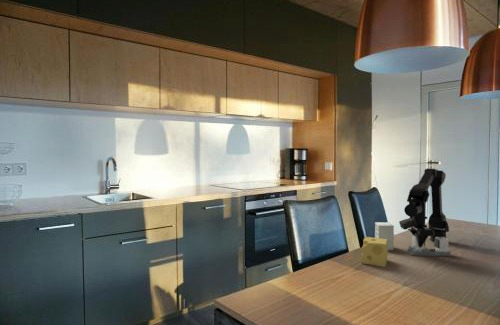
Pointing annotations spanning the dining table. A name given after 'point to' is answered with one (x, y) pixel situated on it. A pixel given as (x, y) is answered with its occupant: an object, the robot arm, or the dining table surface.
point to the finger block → (416, 242)
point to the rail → (439, 250)
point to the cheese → (374, 251)
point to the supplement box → (385, 233)
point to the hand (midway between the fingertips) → (418, 245)
